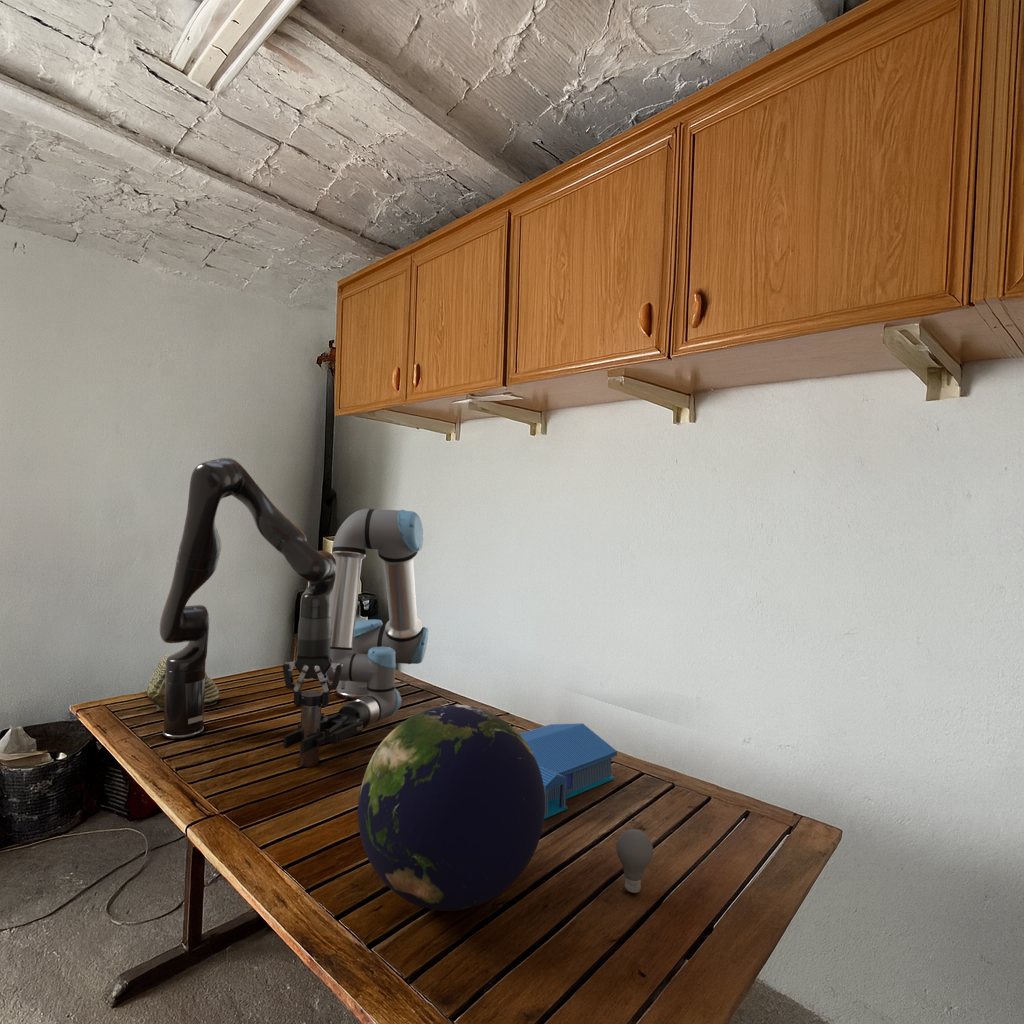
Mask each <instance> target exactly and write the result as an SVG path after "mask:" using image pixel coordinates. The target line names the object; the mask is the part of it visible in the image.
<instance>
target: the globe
mask: <svg viewBox="0 0 1024 1024" xmlns="http://www.w3.org/2000/svg"><path fill="white" fill-rule="evenodd" d="M358 794H359V795H358V801H357V824H358V831H359V836H360V840H361V843H362V847H363V849H364V852H365V856H366V858H367V859H368V862H369V863H370V865H371V867H372V868H373V870H374V871H375V873H376V875H377V876H378V877H379V878H380V880H381V881H382V882H383V883H384V884H385V885H386V886H387V887H388V888H389V889H390V890H392V891H393V892H394V893H395V894H396V895H397V896H399V897H400V898H402V899H404V900H405V901H408V902H409V903H411V904H413V905H416V906H419V907H421V908H424V909H428V910H433V911H441V912H453V911H454V912H455V911H462V910H467V909H471V908H475V907H478V906H481V905H483V904H486V903H487V902H489V901H492V900H493V899H495V898H496V897H498V896H499V895H501V894H502V893H504V892H505V891H506V890H507V889H508V888H509V887H510V886H512V885H513V884H514V882H515V881H517V879H518V878H520V876H521V875H522V873H523V872H524V870H526V868H527V867H528V865H529V863H530V862H531V860H532V859H533V856H534V855H535V852H536V850H537V848H538V844H539V843H540V840H541V836H542V832H543V828H544V822H545V819H544V817H545V792H544V785H543V780H542V775H541V772H540V769H539V766H538V764H537V761H536V758H535V756H534V754H533V752H532V750H531V749H530V747H529V746H528V744H527V742H526V741H525V740H524V739H523V738H522V736H521V735H520V733H519V731H517V729H515V728H514V727H513V726H512V725H511V724H510V723H508V722H507V721H505V720H504V719H502V718H501V717H499V716H498V715H496V714H493V713H492V712H490V711H487V710H484V709H483V708H479V707H474V706H470V705H467V704H449V705H440V706H436V707H435V706H434V707H432V708H428V709H424V710H423V711H420V712H418V713H416V714H414V715H412V716H410V717H409V718H406V720H404V721H403V722H401V723H400V724H399V725H397V726H396V727H395V728H394V729H393V730H391V731H390V732H389V734H388V735H387V736H386V737H384V738H383V740H382V741H381V742H380V744H379V745H378V747H377V748H376V749H375V751H374V752H373V754H372V756H371V758H370V759H369V762H368V765H367V767H366V769H365V771H364V774H363V777H362V780H361V784H360V788H359V793H358Z"/></svg>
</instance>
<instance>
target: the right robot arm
mask: <svg viewBox="0 0 1024 1024" xmlns="http://www.w3.org/2000/svg"><path fill="white" fill-rule="evenodd" d="M423 545H424V529H423V523H422V520H421V517H420V516H419V514H418V513H417V512H416V511H411V510H406V509H399V510H397V509H377V508H375V509H374V508H362V509H359V510H356V511H355V512H353V513H352V514H350V515H349V516H348V517H347V518H346V519H345V520H344V521H343V522H342V524H341V525H340V526H339V528H338V529H337V532H336V533H335V536H334V539H333V542H332V548H331V554H332V555H333V556H334V558H335V560H336V566H337V571H336V578H335V583H334V588H333V592H332V596H331V630H332V634H331V648H330V658H331V660H332V662H334V663H338V664H339V663H343V669H342V672H341V676H340V680H339V684H338V686H337V688H336V695H337V696H338V698H342V699H345V700H352V701H350V702H348V703H346V704H344V705H342V706H341V707H340V708H339V710H338V712H336V713H334V714H330V716H326V715H325V713H324V712H321V723H320V732H319V733H317V734H315V735H313V736H310V737H308V738H306V739H304V740H302V741H301V753H305V752H307V751H309V750H311V749H313V748H315V747H317V746H319V747H321V746H322V745H323V744H325V745H326V744H330V743H331V744H332V745H338V744H339V743H342V742H344V741H346V740H347V739H349V738H351V737H354V736H356V735H359V734H362V733H363V730H364V729H366V728H367V727H369V726H371V725H373V724H375V723H377V722H380V721H382V720H384V719H387V718H389V717H390V716H392V715H394V714H395V713H397V712H398V711H399V710H400V708H401V706H402V696H401V693H400V691H399V690H398V689H397V688H396V687H395V682H396V667H397V664H403V665H418V664H421V663H422V662H423V661H424V658H425V654H426V650H427V644H428V639H429V628H428V627H426V626H423V622H422V620H421V619H420V618H419V617H418V613H417V612H418V611H417V597H416V595H417V594H416V582H415V581H416V580H415V578H416V577H415V564H414V562H415V561H414V559H415V558H416V557H417V556H418V554H419V552H420V551H422V549H423ZM367 550H377V553H378V554H377V555H378V557H379V559H380V560H381V561H383V563H384V576H385V584H386V597H387V609H388V619H389V620H388V621H387V622H386V624H385V625H383V624H384V623H383V621H382V620H381V619H375V618H374V619H363V620H357V621H356V617H357V608H358V599H359V588H360V581H361V571H362V563H363V562H362V561H363V559H365V558H366V557H367ZM326 674H327V676H328V681H329V682H333V678H334V675H335V673H334V672H333V669H332V667H330V668H329V669H328V670H327V672H326ZM321 679H322V678H321ZM300 729H301V722H300V723H298V724H297V729H296V730H295V731H293V732H290V733H288V734H286V735H284V736H283V746H282V747H283V749H288V748H291V747H293V746H295V745H297V744H300Z"/></svg>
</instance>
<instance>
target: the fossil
mask: <svg viewBox="0 0 1024 1024" xmlns="http://www.w3.org/2000/svg"><path fill="white" fill-rule="evenodd" d="M171 655H172V654H165V655H164V656H163V657H162V658H161V659H160V660H159V662H158V663H157V666H156V667H155V669H154V670H153V672H152V675H151V677H150V680H149V684H148V686H149V688H148V687H147V689H148V694H147V693H146V695H147V697H148V699H149V700H150V701H152V703H153V704H154V706H155V711H158V712H159V711H162V712H163V711H164V705H165V674H166V660H167V658H168V657H169V656H171ZM220 698H221V696H220V690H219V688H218V686H217V685H216V683H215V682H214V681H213V679H212V678H211V677H209V675H208V674H207V672H206V671H205V693H204V707H207V706H213V705H215V704H217V703H218V701H219V699H220Z"/></svg>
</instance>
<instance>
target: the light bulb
mask: <svg viewBox="0 0 1024 1024" xmlns="http://www.w3.org/2000/svg"><path fill="white" fill-rule="evenodd" d="M615 849H616V854H617V857H618V859H619V861H620V863H621V865H622V867H623V873H624V874H623V875H624V876H625V878H624V888H625V890H627V891H628V892H630V893H634V894H635V893H639V892H640V891H641V889H642V887H641V886H642V879H643V877H644V875H645V871H646V868H647V867H648V866H649V864H650V863H651V861H652V859H653V855H654V847H653V843H652V841H651V838H649V836H648V835H647V834H646V833H645V832H643V831H642V830H641V829H636V828H629V829H627V830H625V831H623V832H622V833H621V834H620V835H619V837H618V839H617V841H616V847H615Z"/></svg>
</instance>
